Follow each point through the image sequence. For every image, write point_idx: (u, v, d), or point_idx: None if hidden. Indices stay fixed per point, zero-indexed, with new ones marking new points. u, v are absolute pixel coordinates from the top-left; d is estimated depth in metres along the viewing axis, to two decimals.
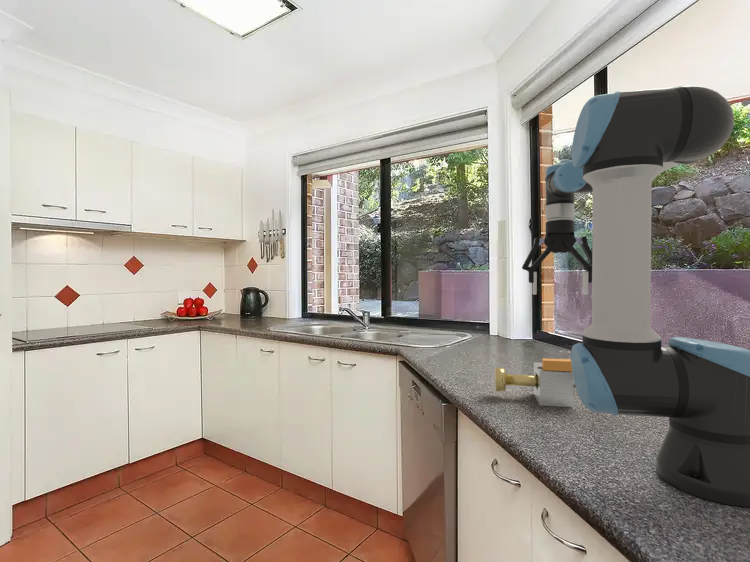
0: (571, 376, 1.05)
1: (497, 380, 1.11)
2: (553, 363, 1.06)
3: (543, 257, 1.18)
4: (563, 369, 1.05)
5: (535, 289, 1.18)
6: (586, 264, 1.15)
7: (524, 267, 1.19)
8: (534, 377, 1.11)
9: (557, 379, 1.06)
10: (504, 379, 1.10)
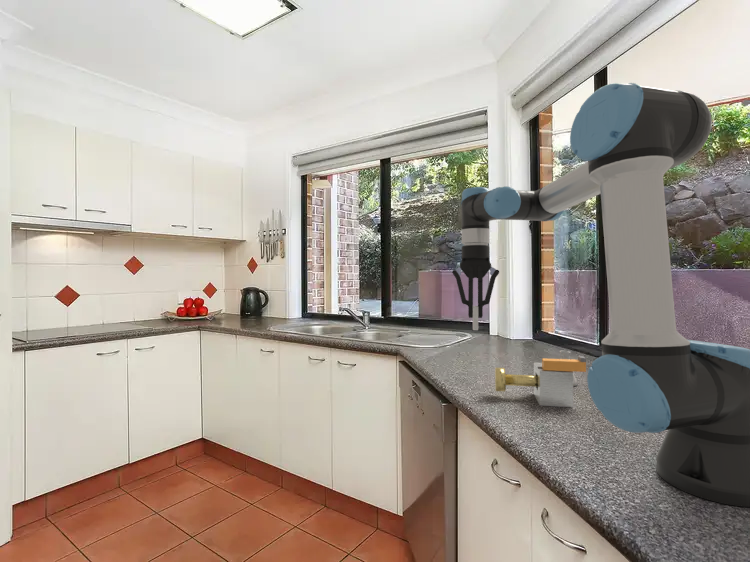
0: (571, 376, 1.05)
1: (497, 380, 1.11)
2: (553, 363, 1.06)
3: (471, 287, 1.13)
4: (563, 369, 1.05)
5: (474, 324, 1.13)
6: (480, 298, 1.13)
7: (463, 302, 1.14)
8: (534, 377, 1.11)
9: (557, 379, 1.06)
10: (504, 379, 1.10)
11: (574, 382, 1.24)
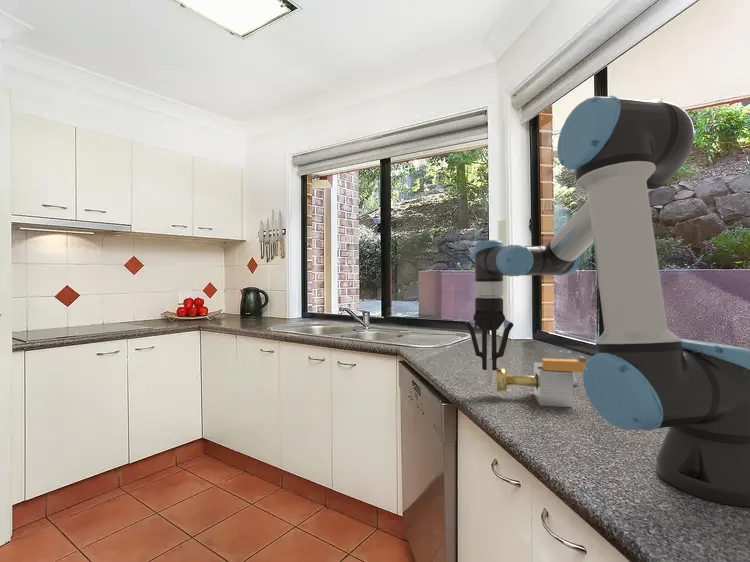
0: (571, 376, 1.05)
1: (498, 380, 1.10)
2: (553, 363, 1.06)
3: (485, 339, 1.13)
4: (563, 369, 1.05)
5: (488, 377, 1.13)
6: (494, 351, 1.12)
7: (477, 354, 1.13)
8: (535, 377, 1.11)
9: (557, 379, 1.06)
10: (505, 379, 1.10)
11: (574, 382, 1.24)
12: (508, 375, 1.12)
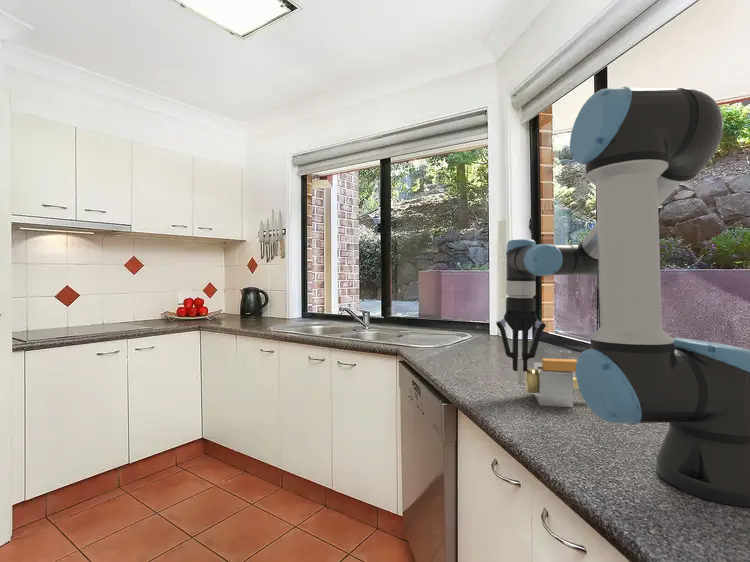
0: (571, 376, 1.05)
1: (529, 382, 1.09)
2: (553, 363, 1.06)
3: (516, 340, 1.11)
4: (563, 369, 1.05)
5: (519, 378, 1.11)
6: (525, 351, 1.10)
7: (508, 355, 1.11)
8: None
9: (557, 379, 1.06)
10: (536, 381, 1.08)
11: None
12: None
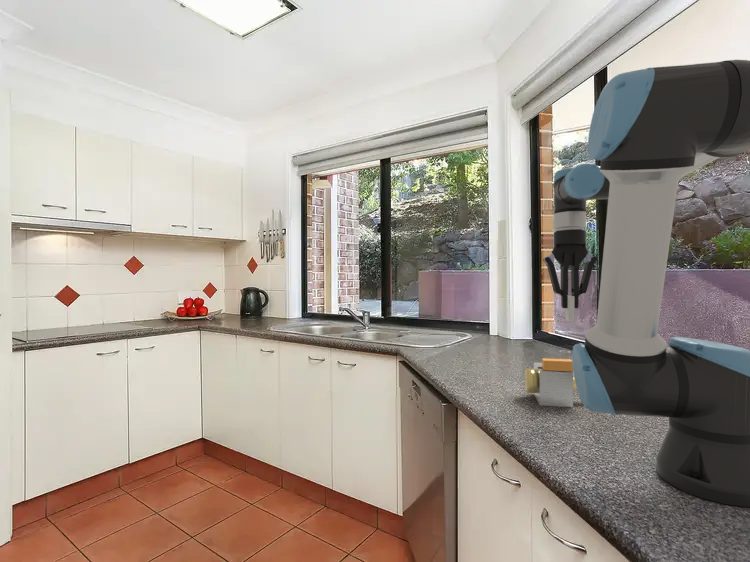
0: (571, 376, 1.05)
1: (529, 381, 1.09)
2: (553, 363, 1.06)
3: (566, 275, 1.05)
4: (563, 369, 1.05)
5: (570, 315, 1.05)
6: (576, 287, 1.05)
7: (557, 291, 1.06)
8: None
9: (557, 379, 1.06)
10: (536, 380, 1.08)
11: None
12: None
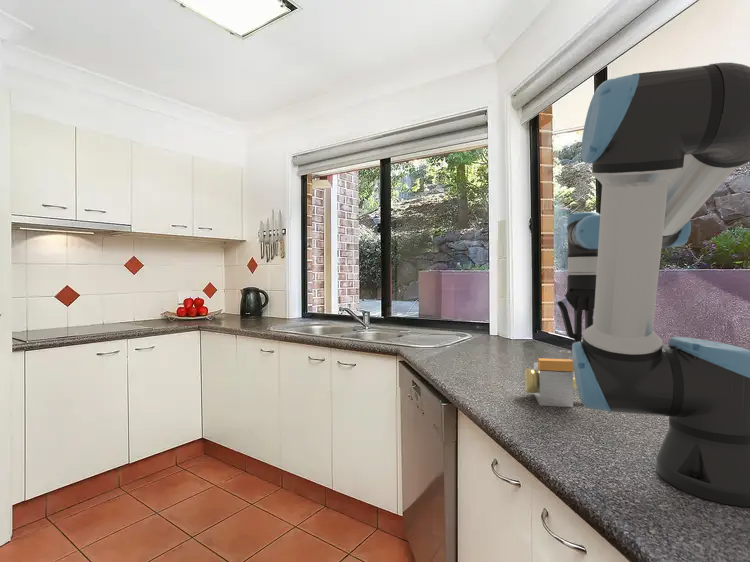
0: (571, 376, 1.05)
1: (529, 381, 1.09)
2: (549, 362, 1.06)
3: (579, 320, 1.04)
4: (559, 369, 1.05)
5: None
6: None
7: (570, 336, 1.05)
8: None
9: (557, 379, 1.06)
10: (536, 380, 1.08)
11: None
12: None
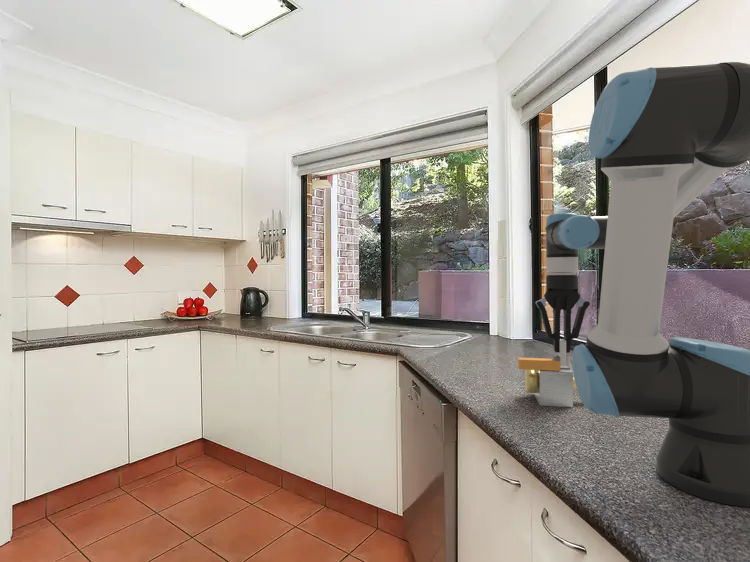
0: (571, 376, 1.05)
1: (529, 381, 1.09)
2: (528, 362, 1.07)
3: (558, 319, 1.05)
4: (538, 368, 1.06)
5: (561, 360, 1.05)
6: (568, 331, 1.05)
7: (549, 335, 1.06)
8: None
9: (557, 379, 1.06)
10: (536, 380, 1.08)
11: None
12: None
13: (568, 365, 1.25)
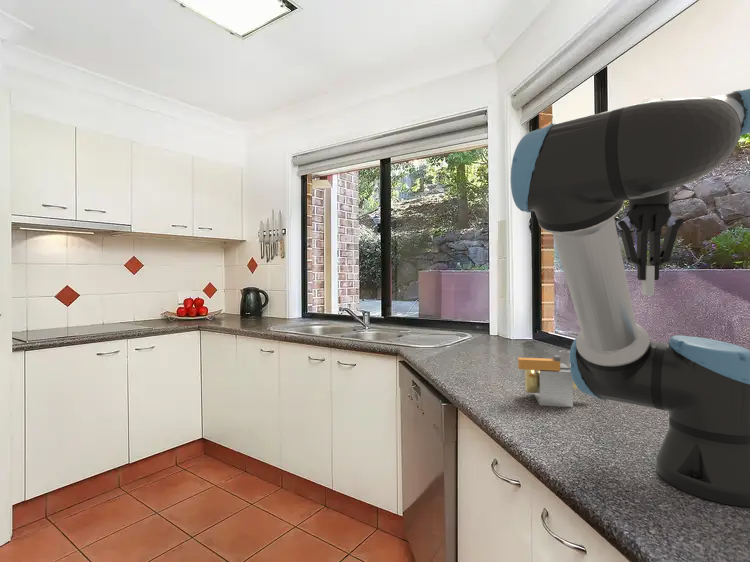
0: (571, 376, 1.05)
1: (529, 381, 1.09)
2: (528, 362, 1.07)
3: (644, 241, 0.90)
4: (538, 368, 1.06)
5: (648, 288, 0.90)
6: (657, 255, 0.90)
7: (634, 260, 0.91)
8: None
9: (557, 379, 1.06)
10: (536, 380, 1.08)
11: None
12: None
13: (568, 365, 1.25)
